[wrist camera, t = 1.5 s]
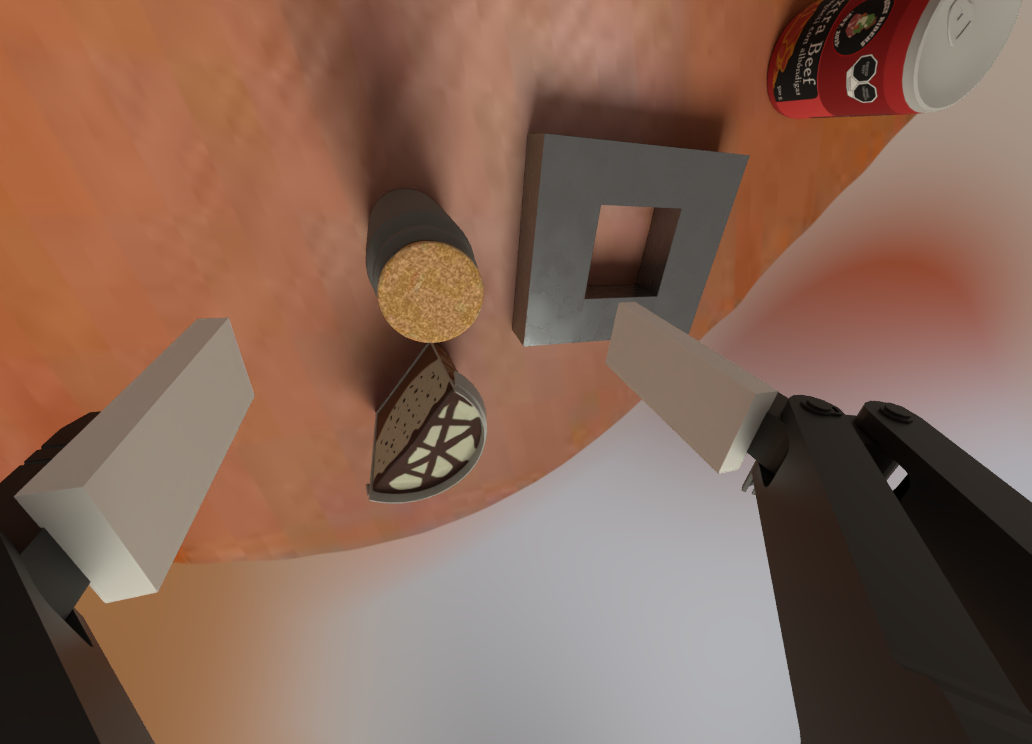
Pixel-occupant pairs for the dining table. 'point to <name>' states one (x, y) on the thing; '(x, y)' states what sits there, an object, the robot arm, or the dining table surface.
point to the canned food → (885, 55)
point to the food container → (426, 431)
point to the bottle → (421, 268)
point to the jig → (573, 223)
